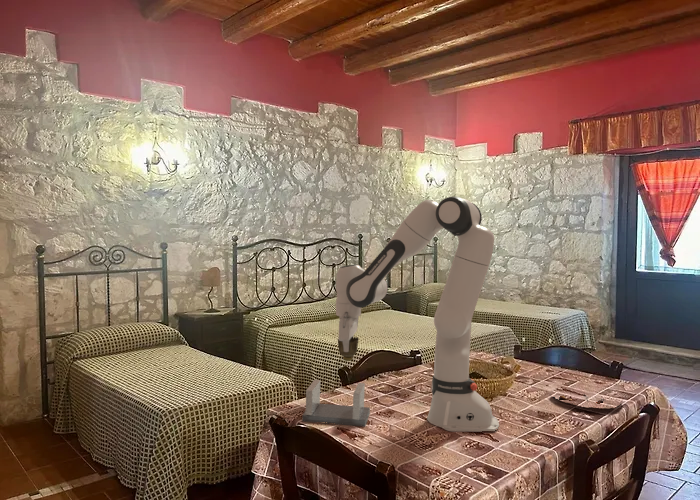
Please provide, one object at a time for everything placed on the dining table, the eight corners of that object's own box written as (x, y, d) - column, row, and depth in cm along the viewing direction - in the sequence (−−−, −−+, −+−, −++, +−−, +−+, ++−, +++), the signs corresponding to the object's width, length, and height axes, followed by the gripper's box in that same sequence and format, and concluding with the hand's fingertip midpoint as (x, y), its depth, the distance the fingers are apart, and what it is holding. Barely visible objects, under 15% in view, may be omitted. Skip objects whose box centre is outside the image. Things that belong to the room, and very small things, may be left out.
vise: (369, 413, 181) (370, 383, 181) (365, 426, 170) (366, 394, 169) (310, 408, 184) (311, 379, 184) (302, 421, 173) (303, 389, 172)
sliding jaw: (319, 403, 184) (320, 380, 184) (311, 415, 172) (312, 390, 172) (313, 402, 184) (314, 379, 184) (305, 414, 172) (306, 390, 172)
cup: (355, 364, 190) (356, 341, 189) (335, 362, 191) (335, 340, 190) (360, 357, 197) (360, 336, 196) (340, 356, 199) (340, 334, 198)
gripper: (352, 315, 182) (352, 356, 183) (361, 306, 203) (360, 343, 203) (334, 314, 183) (334, 355, 184) (344, 306, 204) (344, 342, 204)
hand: (348, 349), depth 194 cm, fingers closed on cup, 7 cm apart
